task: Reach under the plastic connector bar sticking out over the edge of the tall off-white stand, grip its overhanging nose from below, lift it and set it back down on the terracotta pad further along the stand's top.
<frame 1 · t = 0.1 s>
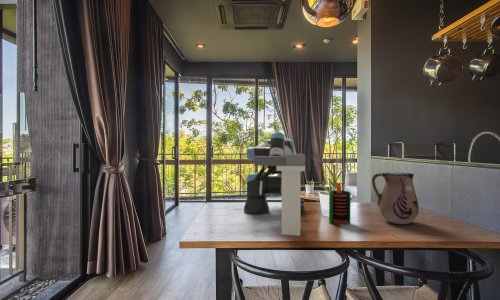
hand: (274, 194, 140), 15 cm above the table, tool tilted 35°, fingers open, 13 cm apart
ceramic pitcher: (394, 222, 145), on the table
stand: (291, 231, 130), on the table
connector bar: (286, 165, 125), point 30 cm above the table, touching stand
motor: (338, 223, 145), on the table
jar: (295, 213, 167), on the table
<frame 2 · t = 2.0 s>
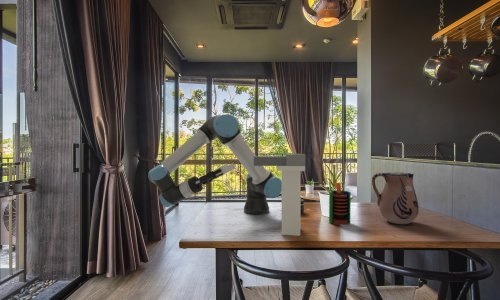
hand: (231, 166, 131), 30 cm above the table, tool pointing upward, fingers open, 13 cm apart
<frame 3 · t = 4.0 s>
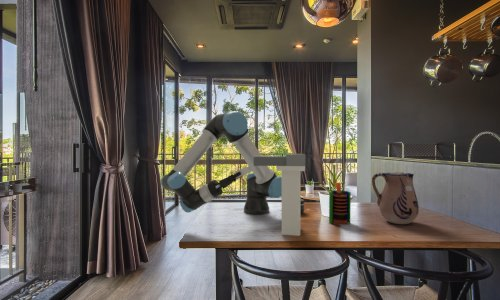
hand: (250, 167, 128), 29 cm above the table, tool pointing upward, fingers open, 13 cm apart
nothing on the table moved.
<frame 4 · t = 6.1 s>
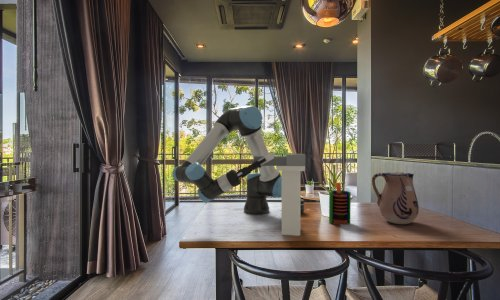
hand: (273, 155, 126), 34 cm above the table, tool pointing upward, fingers open, 7 cm apart
connector bar: (286, 165, 125), point 30 cm above the table, touching gripper
everything else where it was.
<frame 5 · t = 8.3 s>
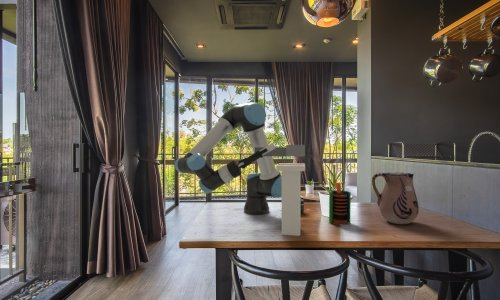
hand: (274, 145, 128), 39 cm above the table, tool pointing upward, fingers closed on connector bar, 4 cm apart
connector bar: (286, 156, 127), point 34 cm above the table, touching gripper
everything else where it was.
when the fingers open (36 cm above the table, at t = 10.3 s): connector bar drops 1 cm, resting on stand.
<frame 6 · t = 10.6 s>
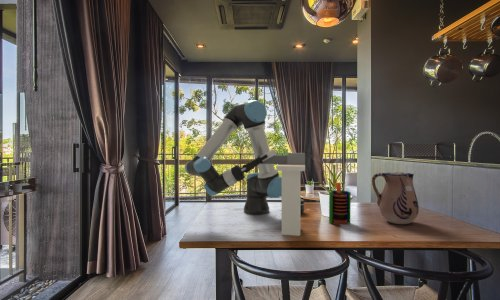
hand: (274, 151, 135), 36 cm above the table, tool pointing upward, fingers open, 8 cm apart
connector bar: (287, 163, 134), point 30 cm above the table, touching stand
everything else where it was.
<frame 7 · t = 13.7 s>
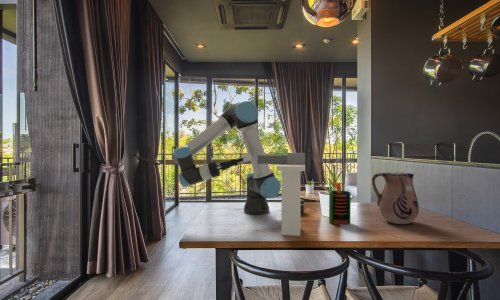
hand: (251, 156, 140), 33 cm above the table, tool pointing upward, fingers open, 13 cm apart
nothing on the table moved.
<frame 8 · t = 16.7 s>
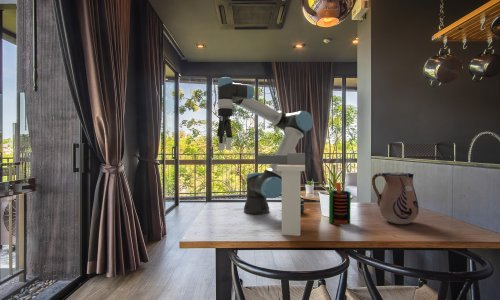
hand: (225, 150, 147), 37 cm above the table, tool pointing down, fingers open, 13 cm apart
nothing on the table moved.
at the end: connector bar 0.3 cm from the target spot, point 30.3 cm above the table; the gripper is holding nothing; connector bar tilted 0° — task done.
